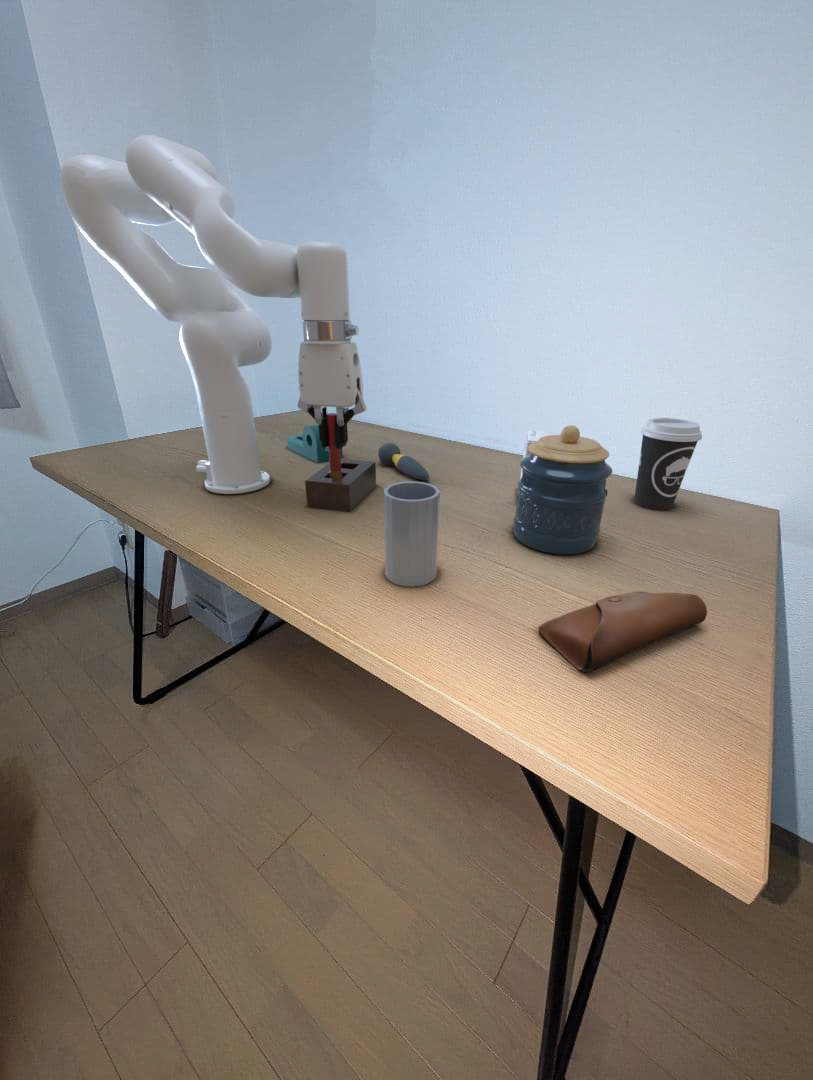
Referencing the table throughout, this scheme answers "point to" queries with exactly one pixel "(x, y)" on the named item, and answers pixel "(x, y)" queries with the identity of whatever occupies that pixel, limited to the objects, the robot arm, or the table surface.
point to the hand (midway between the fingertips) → (334, 445)
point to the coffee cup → (664, 460)
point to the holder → (341, 485)
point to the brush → (333, 448)
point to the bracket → (310, 444)
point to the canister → (562, 493)
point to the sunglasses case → (620, 626)
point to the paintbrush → (401, 461)
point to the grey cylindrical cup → (411, 532)
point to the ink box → (533, 437)
